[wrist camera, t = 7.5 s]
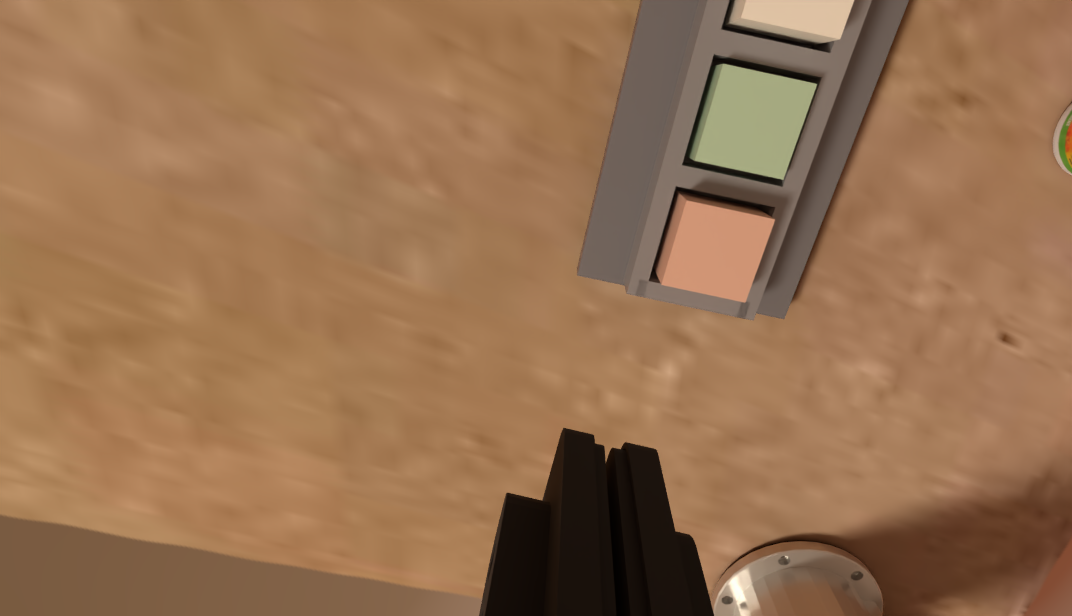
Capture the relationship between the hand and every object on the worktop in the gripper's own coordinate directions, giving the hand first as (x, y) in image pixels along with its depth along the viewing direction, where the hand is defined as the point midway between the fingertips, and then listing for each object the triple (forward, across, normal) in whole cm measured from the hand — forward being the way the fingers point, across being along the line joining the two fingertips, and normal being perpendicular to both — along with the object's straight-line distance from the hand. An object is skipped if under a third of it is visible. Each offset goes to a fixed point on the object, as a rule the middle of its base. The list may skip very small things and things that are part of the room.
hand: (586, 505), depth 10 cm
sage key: (+25, -7, -7) cm, 27 cm away
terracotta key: (+24, -7, -1) cm, 25 cm away
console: (+26, -7, -8) cm, 28 cm away
